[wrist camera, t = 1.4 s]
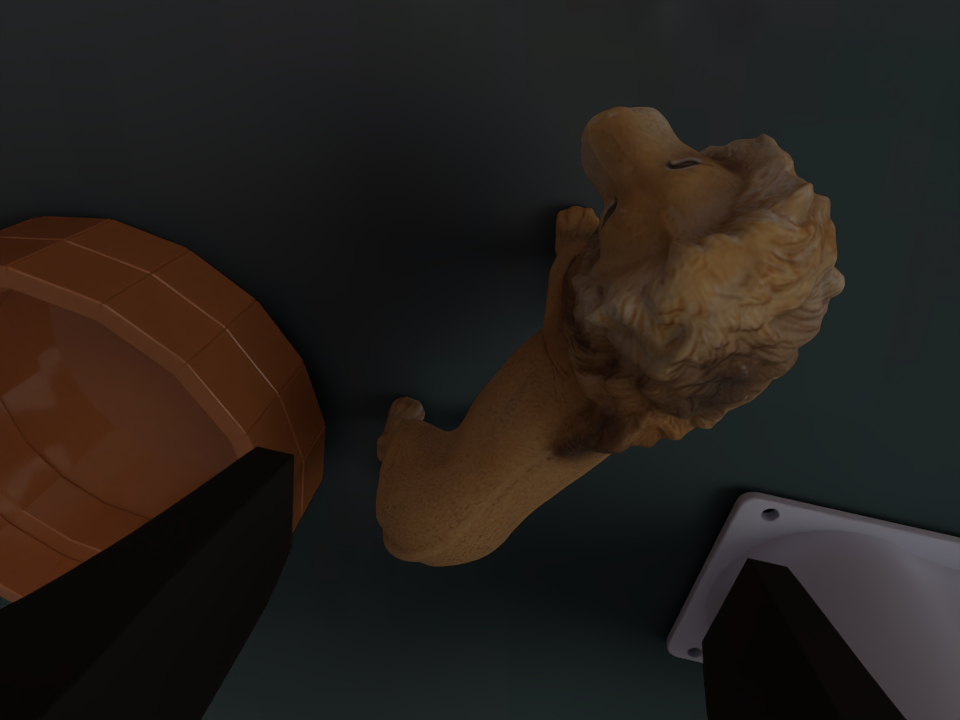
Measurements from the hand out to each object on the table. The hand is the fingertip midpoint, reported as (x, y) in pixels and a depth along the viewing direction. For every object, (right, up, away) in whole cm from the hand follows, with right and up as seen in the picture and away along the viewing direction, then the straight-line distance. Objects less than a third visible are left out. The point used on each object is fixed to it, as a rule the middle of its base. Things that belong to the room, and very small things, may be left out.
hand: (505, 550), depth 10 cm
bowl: (-12, +2, +12) cm, 17 cm away
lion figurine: (+1, +5, +8) cm, 10 cm away
